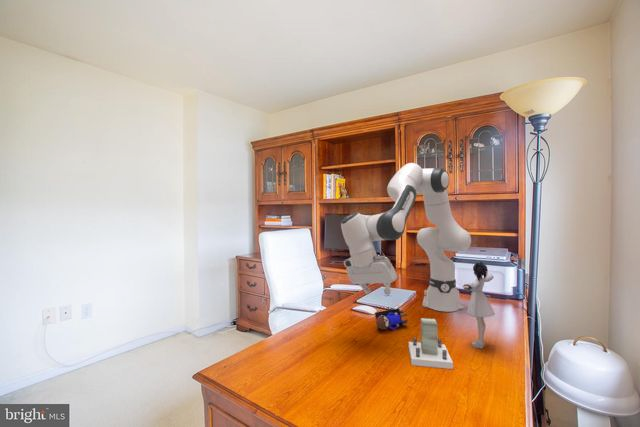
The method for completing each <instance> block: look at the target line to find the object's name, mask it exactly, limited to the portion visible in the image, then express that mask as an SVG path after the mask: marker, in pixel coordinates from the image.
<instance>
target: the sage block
mask: <svg viewBox="0 0 640 427" xmlns="http://www.w3.org/2000/svg"><path fill="white" fill-rule="evenodd" d="M438 326H439V324H438V323H437V321H436V318H423V317H421V318H420V343H421V349H422V353H423V354H429V355H437V344H438V333H439V332H438Z"/></svg>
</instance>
